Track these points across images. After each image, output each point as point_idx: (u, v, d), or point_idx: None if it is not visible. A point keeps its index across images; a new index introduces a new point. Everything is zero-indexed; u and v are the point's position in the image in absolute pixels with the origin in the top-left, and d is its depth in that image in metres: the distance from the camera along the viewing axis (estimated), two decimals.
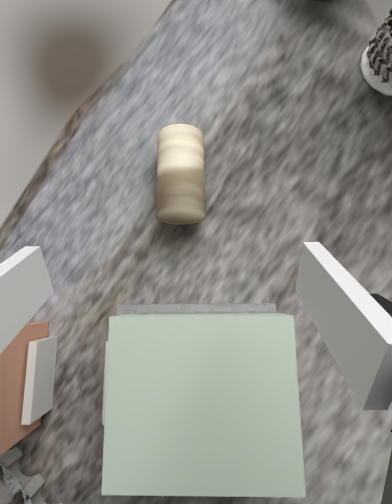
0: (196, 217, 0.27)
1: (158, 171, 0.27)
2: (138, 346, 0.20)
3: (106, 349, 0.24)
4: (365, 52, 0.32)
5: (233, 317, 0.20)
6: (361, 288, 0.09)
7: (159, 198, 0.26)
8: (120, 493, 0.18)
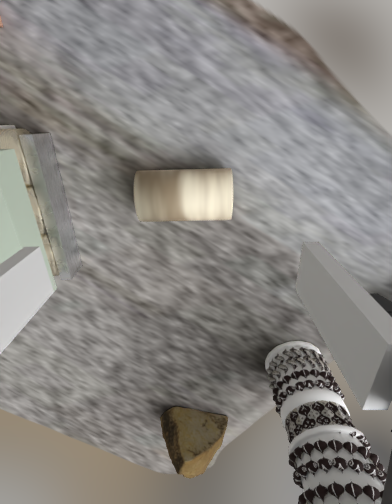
0: None
1: (183, 176, 0.24)
2: None
3: None
4: (309, 345, 0.38)
5: None
6: (361, 288, 0.09)
7: (151, 178, 0.24)
8: None
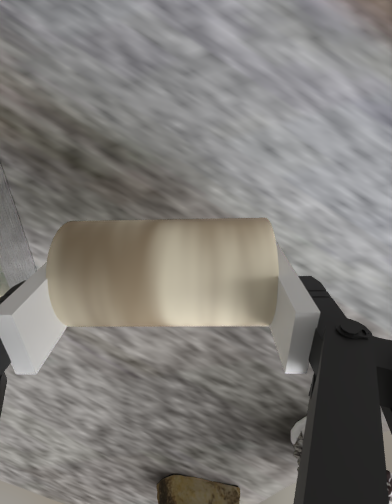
0: None
1: (163, 238, 0.11)
2: None
3: None
4: None
5: None
6: (292, 270, 0.10)
7: (90, 241, 0.11)
8: None
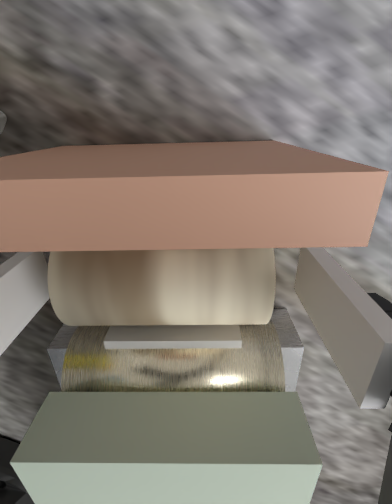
0: None
1: None
2: (258, 495, 0.11)
3: (227, 342, 0.13)
4: None
5: None
6: (359, 287, 0.09)
7: None
8: (23, 480, 0.11)
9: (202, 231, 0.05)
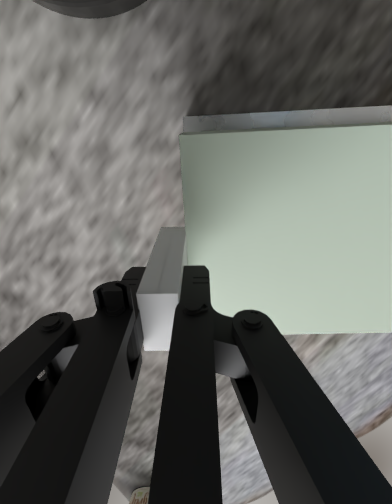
0: None
1: None
2: (386, 304, 0.16)
3: None
4: None
5: None
6: (180, 259, 0.12)
7: None
8: None
9: None
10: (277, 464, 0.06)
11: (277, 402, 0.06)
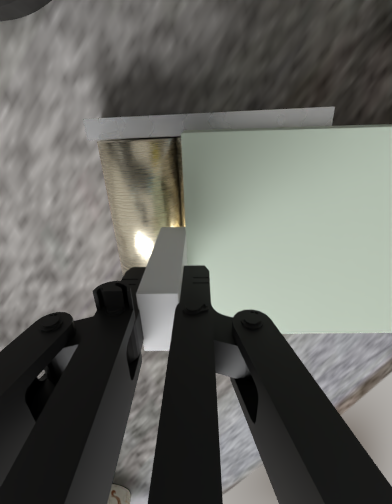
0: None
1: None
2: (382, 305, 0.16)
3: None
4: None
5: None
6: (180, 259, 0.12)
7: None
8: None
9: None
10: (277, 463, 0.06)
11: (277, 402, 0.06)
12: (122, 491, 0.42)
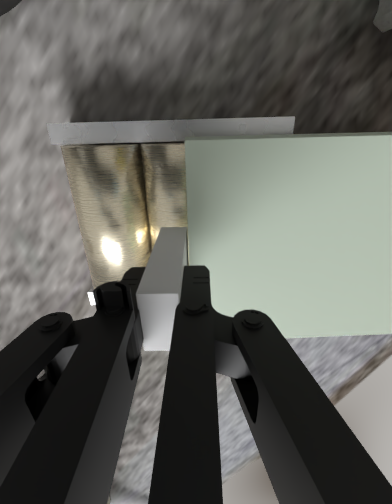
0: None
1: None
2: (380, 307, 0.16)
3: None
4: None
5: None
6: (181, 259, 0.12)
7: None
8: None
9: None
10: (277, 463, 0.06)
11: (277, 402, 0.06)
12: None
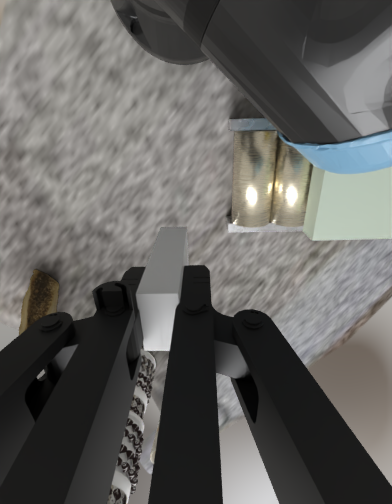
0: None
1: None
2: None
3: None
4: None
5: (351, 238, 0.31)
6: (181, 259, 0.12)
7: None
8: None
9: None
10: (277, 463, 0.06)
11: (277, 402, 0.06)
12: None
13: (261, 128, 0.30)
